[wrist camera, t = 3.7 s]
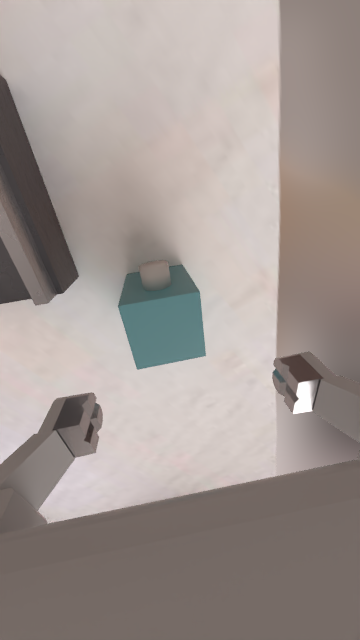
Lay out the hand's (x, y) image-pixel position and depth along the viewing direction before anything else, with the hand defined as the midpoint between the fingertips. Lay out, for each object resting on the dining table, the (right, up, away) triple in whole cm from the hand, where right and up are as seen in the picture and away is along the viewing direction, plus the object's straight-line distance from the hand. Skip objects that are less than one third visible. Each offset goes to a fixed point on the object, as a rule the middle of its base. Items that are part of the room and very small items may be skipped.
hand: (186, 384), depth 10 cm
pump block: (-2, +5, +11) cm, 12 cm away
